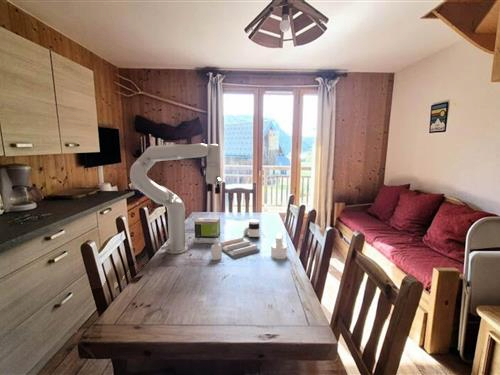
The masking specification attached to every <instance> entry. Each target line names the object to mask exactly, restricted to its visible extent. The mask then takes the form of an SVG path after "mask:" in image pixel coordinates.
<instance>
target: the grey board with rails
mask: <svg viewBox="0 0 500 375" xmlns="http://www.w3.org/2000/svg"><path fill="white" fill-rule="evenodd" d="M219 242H220V243H219V244H220V245H221V246H222V252H223V253H225V254H226V255H228V256H229V257H230V258H232V259H233V260H236V259H239V258H243V257H245V256H249V255H252V254H256V253H259V252H260V250H261V249H260V248H258V244H251V241H250V240H244V237H243V236H240V237H236V238H232V239H227V240H223V241H219Z"/></svg>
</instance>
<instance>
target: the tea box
mask: <svg viewBox="0 0 500 375" xmlns="http://www.w3.org/2000/svg"><path fill="white" fill-rule="evenodd" d="M193 222H194V223H193V225H194V243H196V244H214V240H216V238H217V240H218V241H219V242H220V240H221V218H220V217H198V218H197V219H196V220H194V221H193Z"/></svg>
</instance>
